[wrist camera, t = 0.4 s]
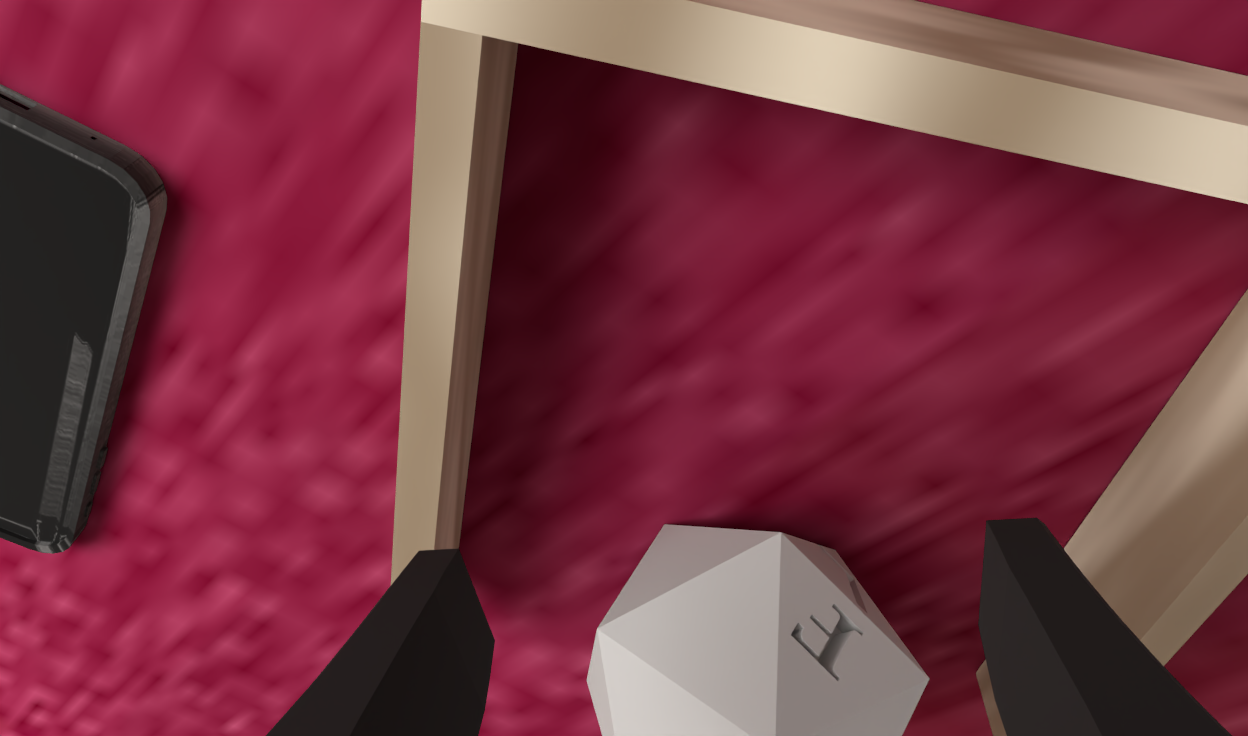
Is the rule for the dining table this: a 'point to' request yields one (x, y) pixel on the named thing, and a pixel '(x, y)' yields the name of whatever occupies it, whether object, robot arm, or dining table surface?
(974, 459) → the dining table surface
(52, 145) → the phone
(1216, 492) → the wooden frame
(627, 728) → the die
